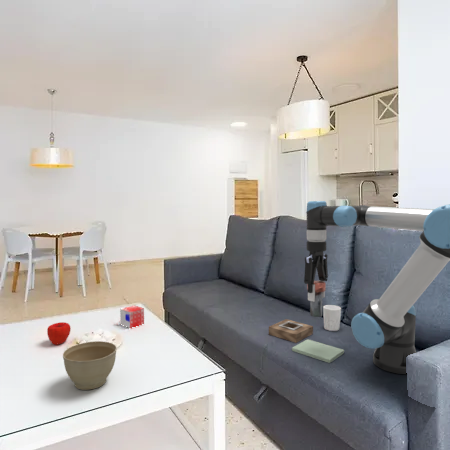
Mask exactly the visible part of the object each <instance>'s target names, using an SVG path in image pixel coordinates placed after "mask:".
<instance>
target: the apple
mask: <svg viewBox="0 0 450 450" xmlns="http://www.w3.org/2000/svg"><path fill="white" fill-rule="evenodd" d="M71 328H72V327H71V325H70V324H69V323H68V322H56V323H52V324H50V325H49V326H48V327H47V330H46V332H47V333H46V334H47V338H48V340H49V341H50V343H51V344H52V345H57V346H58V345H61V344H64V343H65V342H66V341H67V340H68V338H69V336H70V334H71V330H72V329H71Z"/></svg>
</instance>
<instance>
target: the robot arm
mask: <svg viewBox="0 0 450 450" xmlns="http://www.w3.org/2000/svg"><path fill="white" fill-rule="evenodd" d="M305 211H306V212H305V214H306V232H305V233H306V240H307V241H306V251H308V252H309V253H308V257H307V256H305V257H304V277H303V283H304V285H307V284H308V290H307V301H309V302H311V301H313V302H314V301H315V284H314V281H315V278H316V273H317V276H318V280H317V281H323V282H325V283H326V282H327V281H328V279H329V278H328V277H329V274H328V254H327V253H324V252H326V251H327V227H328V226H329V227H340V228H347V227H353V226H364V227H376V228H377V227H378V228H384V229H394V230H403V231H404V230H406V231H416V232H421V234H420V235H419V237H418V238H419V241H420V244H419V245H418V246H417V248H416V250H414V252H413V253H412V254H411V256H410V257H409V259H407V261H406V263H405V264H404V265H403V267H402V268H401V269H400V271H399V272H398V274H396V276H395V278H394V279H393V280H392V281H391V283H390V284H389V285H388V287H387V288H386V289H385V291H384V292H383V294H381V296H380V297H379V298H375V299H372V300H371V301H370V303H369V304H368V305H367V306H366V308H364V310H363V312H358V313H357V314H355V315H354V316H353V317H352V319H351V323H350V326H351V330H352V331H351V332H352V335H353V337H354V338H355V340H356V341H357V343H359V345H361V346H363V348H364V347H365V348H367V349H371V350H373V349H374V352H373V354H372V362H373V364H374V365H375V366H376V367H377V368H379V369H380V370H383V371H385V372H389V373H393V374H397V375H398V374H399V375H407V374H406V357H407V356H408V355H410V354H413V353H417V351H416V347H415V341H416V339H415V338H416V337H415V336H416V320H417V318H416V317H417V314H416V313H417V312H416V307H415V306H414V305H415V303H416V302H417V301H418V300H419V298H420V297H421V296H422V295H423V293H424V292H425V291H426V290H427V289H428V287H429V286H430V285H431V284H432V282H433V281H434V280H435V279H436V277H438V275H439V274H440V272H441V271H443V269H444V268H445V267H446V265H447V264H448V263H449V262H450V204H444V205H441V206H438V207H437V208H418V207H417V208H414V207H411V208H410V207H396V206H395V207H394V206H392V207H391V206H371V205H362V204H361V205H328V204H327V201H326V200H311V201H308V202H307V203H306V210H305ZM325 295H326V291H324V292H322V299H324V298H326V297H325Z"/></svg>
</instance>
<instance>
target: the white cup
mask: <svg viewBox="0 0 450 450" xmlns="http://www.w3.org/2000/svg"><path fill="white" fill-rule="evenodd" d="M341 312H342V308H341V307H340V306H338V305H334V304H326V305H322V316H323V328H324V329H325V330H326V331H330V332H337V331H339V330H340V325H341V324H340V323H341V315H342V313H341Z"/></svg>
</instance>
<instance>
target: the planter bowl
mask: <svg viewBox="0 0 450 450" xmlns="http://www.w3.org/2000/svg"><path fill="white" fill-rule="evenodd" d="M117 350H118V349H117V346H116V344H114V343H113V342H109V341H102V340H101V341H99V340H98V341H97V340H96V341H87V342H82V343H78V344H75V345H72V346H69V348H67V349H65V350H64V351H63V353H62V358H63V364H64V369H65V372H66V374H67V376H68V377H69V379H70V380H71V382H73V383H74V387H75V389H78V390H83V391H87V390H94V389H97V388H99V387H102V386H103V385H105V383H106V382H107V379H108V377H109V375H110V374H111V372H112V371H113V368H114V365H115V362H116V358H117V355H116V354H117Z"/></svg>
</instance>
